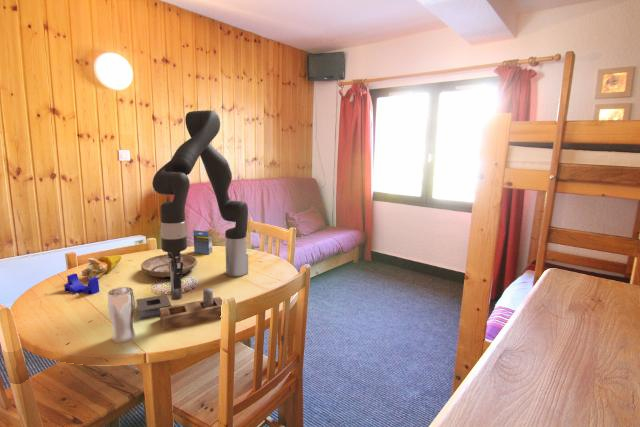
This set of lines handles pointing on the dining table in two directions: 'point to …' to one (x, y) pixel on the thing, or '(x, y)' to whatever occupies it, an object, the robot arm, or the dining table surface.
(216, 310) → the rack
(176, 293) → the round metal peg
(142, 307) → the socket block
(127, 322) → the beer glass
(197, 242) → the label tape cartridge
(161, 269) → the ceramic bowl
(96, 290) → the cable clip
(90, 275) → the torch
